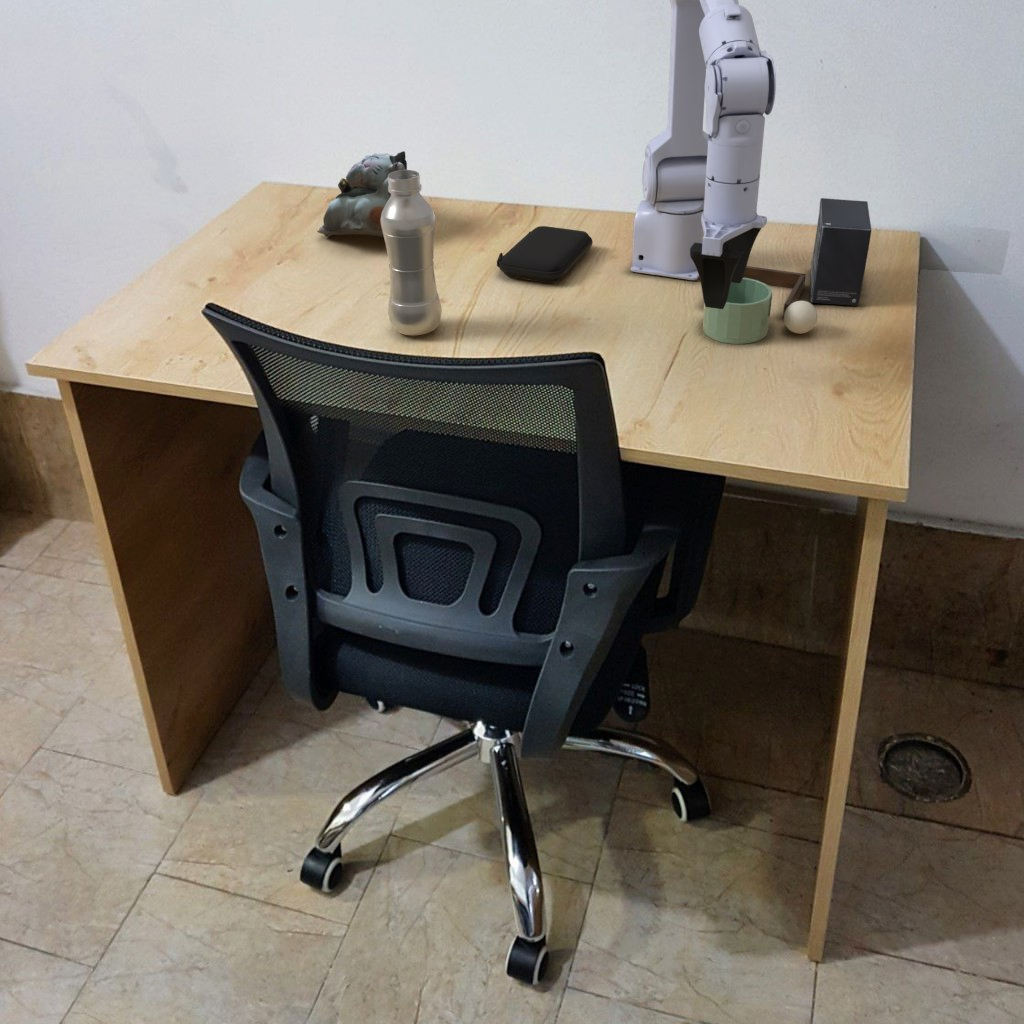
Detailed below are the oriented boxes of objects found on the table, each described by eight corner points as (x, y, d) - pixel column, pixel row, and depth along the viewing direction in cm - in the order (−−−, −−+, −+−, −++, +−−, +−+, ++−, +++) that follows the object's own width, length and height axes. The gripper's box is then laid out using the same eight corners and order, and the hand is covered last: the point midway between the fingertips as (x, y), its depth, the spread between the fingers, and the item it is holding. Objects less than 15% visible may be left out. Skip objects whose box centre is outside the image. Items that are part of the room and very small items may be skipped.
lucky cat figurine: (306, 233, 172) (320, 139, 170) (378, 248, 178) (392, 158, 176) (343, 234, 159) (359, 133, 157) (419, 251, 165) (435, 154, 163)
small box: (861, 307, 145) (874, 229, 139) (809, 304, 146) (819, 226, 140) (858, 274, 153) (869, 198, 147) (808, 271, 154) (818, 196, 148)
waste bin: (694, 338, 139) (697, 299, 136) (712, 311, 145) (715, 273, 142) (759, 348, 137) (763, 309, 134) (774, 320, 143) (778, 282, 140)
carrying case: (528, 239, 167) (487, 278, 156) (528, 219, 165) (486, 257, 154) (596, 248, 163) (559, 289, 152) (596, 228, 162) (558, 267, 151)
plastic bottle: (390, 320, 146) (374, 167, 135) (442, 317, 147) (431, 164, 135) (390, 343, 141) (373, 185, 129) (444, 339, 141) (432, 182, 130)
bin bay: (704, 306, 147) (705, 292, 145) (724, 276, 154) (725, 262, 153) (787, 319, 143) (789, 304, 142) (804, 287, 150) (806, 273, 149)
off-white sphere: (778, 336, 139) (782, 306, 137) (786, 322, 142) (789, 293, 140) (811, 341, 138) (815, 311, 135) (818, 327, 141) (822, 297, 138)
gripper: (753, 201, 115) (742, 324, 122) (784, 159, 126) (773, 274, 133) (686, 194, 117) (679, 315, 125) (722, 153, 128) (714, 267, 136)
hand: (723, 293), depth 129 cm, fingers open, 7 cm apart
